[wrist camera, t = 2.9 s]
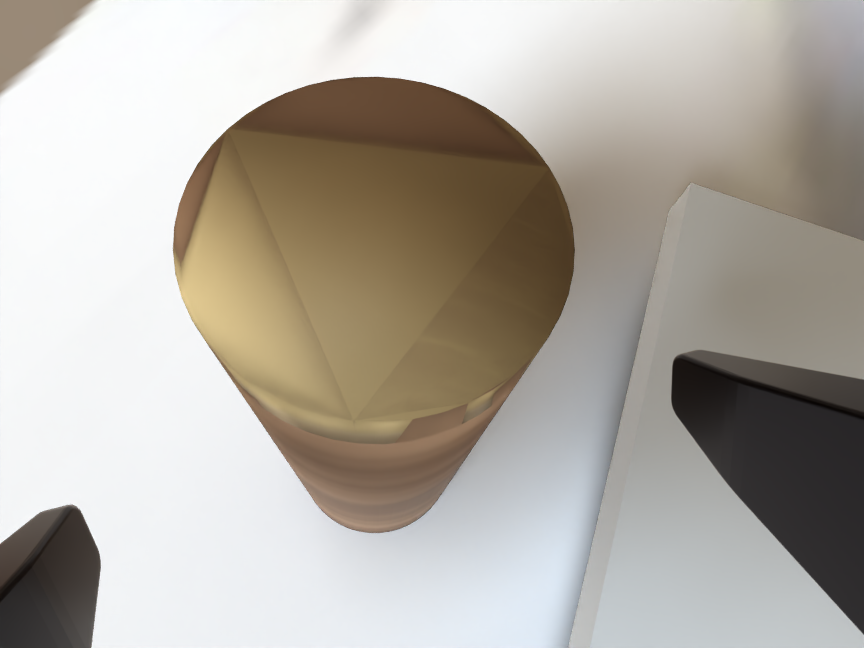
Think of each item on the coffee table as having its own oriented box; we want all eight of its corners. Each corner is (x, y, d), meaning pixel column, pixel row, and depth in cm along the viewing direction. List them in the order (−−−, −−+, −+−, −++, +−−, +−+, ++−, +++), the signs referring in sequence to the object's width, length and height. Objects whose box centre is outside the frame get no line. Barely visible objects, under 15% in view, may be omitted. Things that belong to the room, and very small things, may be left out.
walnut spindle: (421, 556, 17) (511, 488, 6) (276, 500, 17) (89, 329, 6) (469, 413, 19) (612, 145, 8) (337, 364, 19) (282, 34, 8)
